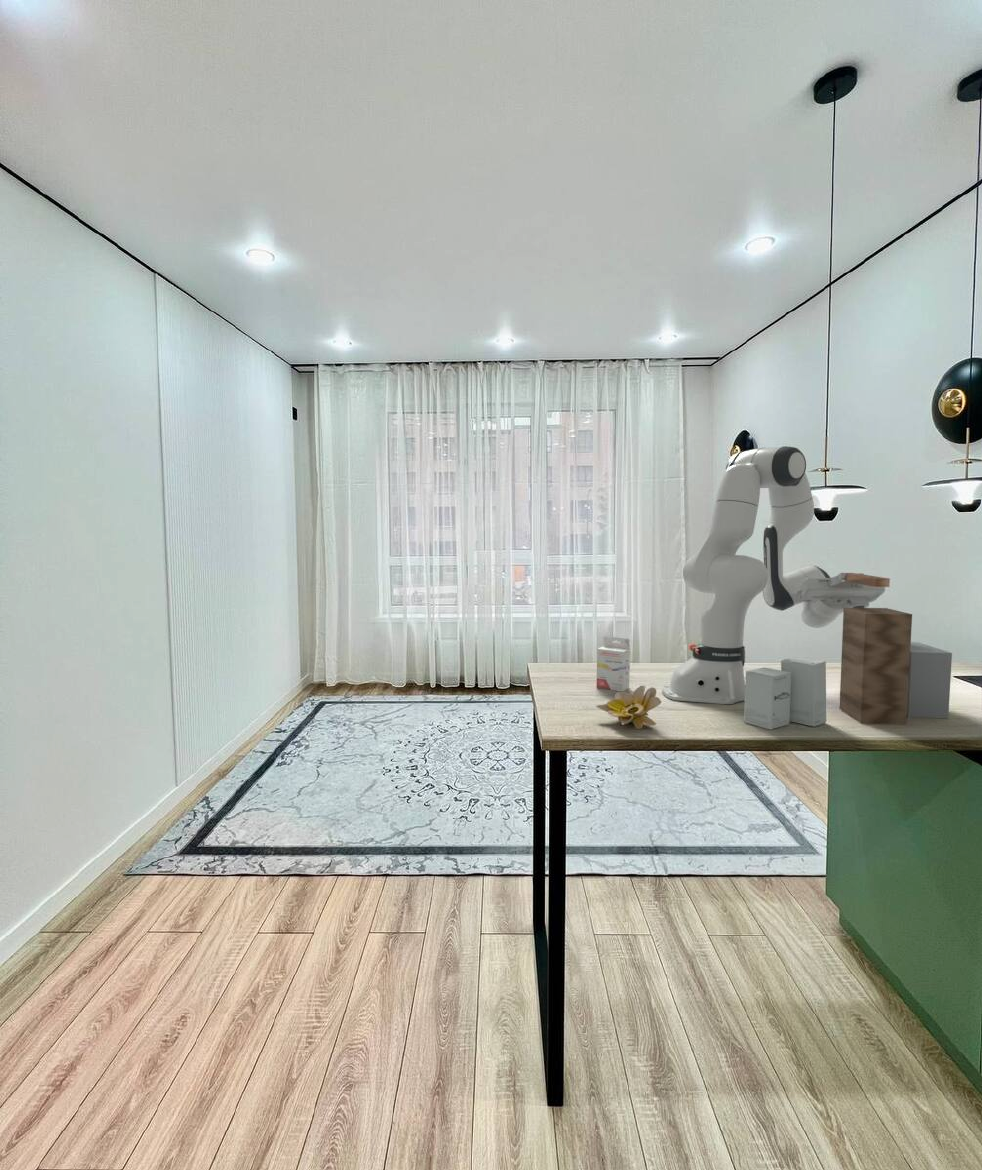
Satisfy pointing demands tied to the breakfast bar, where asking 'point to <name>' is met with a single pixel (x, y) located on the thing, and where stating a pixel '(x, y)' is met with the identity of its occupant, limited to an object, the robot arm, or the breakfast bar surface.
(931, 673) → the grey block
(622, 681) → the ink cartridge box
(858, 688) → the walnut stand
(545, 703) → the breakfast bar surface
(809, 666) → the skincare box
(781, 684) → the supplement box
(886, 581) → the slat
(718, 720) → the breakfast bar surface
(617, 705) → the decorative flower
